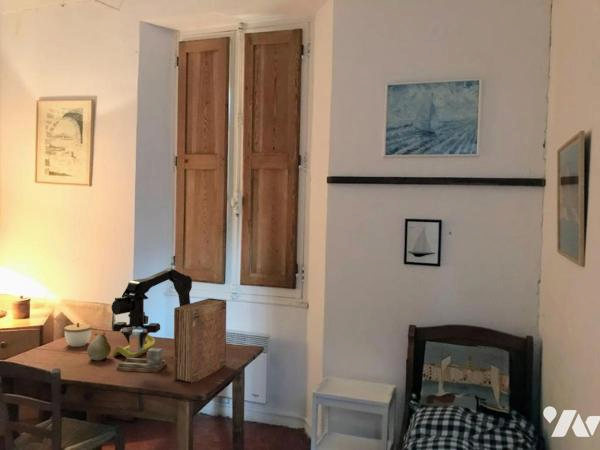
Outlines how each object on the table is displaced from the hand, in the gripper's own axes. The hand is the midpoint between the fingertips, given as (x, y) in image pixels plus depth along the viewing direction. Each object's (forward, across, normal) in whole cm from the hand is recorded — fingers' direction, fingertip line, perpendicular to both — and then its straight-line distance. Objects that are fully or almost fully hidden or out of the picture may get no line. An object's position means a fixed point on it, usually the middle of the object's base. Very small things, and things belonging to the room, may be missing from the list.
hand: (136, 347), depth 223 cm
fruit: (+12, +24, -17) cm, 32 cm away
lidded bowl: (+12, +45, -39) cm, 60 cm away
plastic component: (+12, +11, -29) cm, 33 cm away
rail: (+11, +1, -9) cm, 14 cm away
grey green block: (+1, 0, 0) cm, 1 cm away
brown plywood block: (+12, -26, -4) cm, 29 cm away
